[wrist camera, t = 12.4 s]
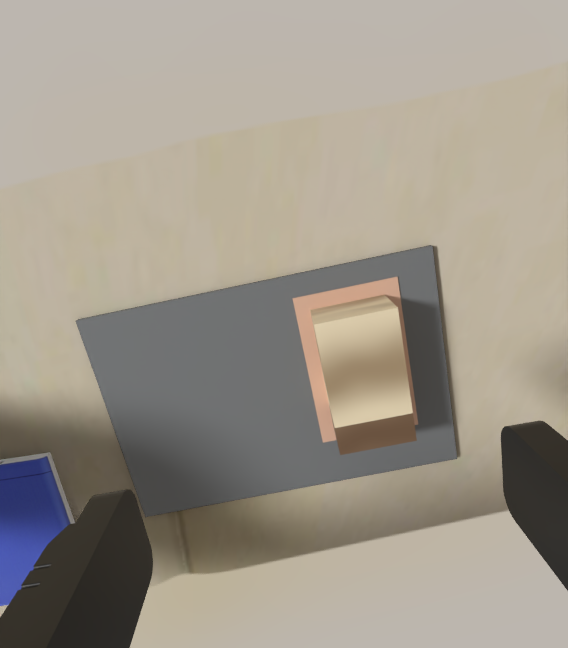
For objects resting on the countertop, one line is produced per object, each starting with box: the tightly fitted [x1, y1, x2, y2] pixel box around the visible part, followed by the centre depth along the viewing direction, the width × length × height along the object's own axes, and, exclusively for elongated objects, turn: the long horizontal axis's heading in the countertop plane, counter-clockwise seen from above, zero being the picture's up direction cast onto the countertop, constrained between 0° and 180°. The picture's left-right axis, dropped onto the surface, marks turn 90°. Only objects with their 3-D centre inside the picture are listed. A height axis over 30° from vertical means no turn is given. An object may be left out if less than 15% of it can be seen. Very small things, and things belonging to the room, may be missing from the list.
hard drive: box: [0, 452, 75, 606], centre depth 35 cm, size 2×8×12 cm
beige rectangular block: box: [310, 295, 417, 455], centre depth 29 cm, size 9×5×4 cm, turn 12°
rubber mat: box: [76, 245, 457, 517], centre depth 32 cm, size 24×16×1 cm, turn 102°
